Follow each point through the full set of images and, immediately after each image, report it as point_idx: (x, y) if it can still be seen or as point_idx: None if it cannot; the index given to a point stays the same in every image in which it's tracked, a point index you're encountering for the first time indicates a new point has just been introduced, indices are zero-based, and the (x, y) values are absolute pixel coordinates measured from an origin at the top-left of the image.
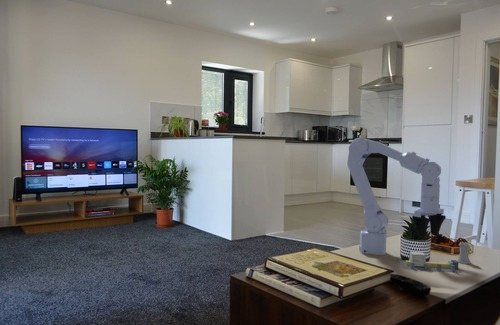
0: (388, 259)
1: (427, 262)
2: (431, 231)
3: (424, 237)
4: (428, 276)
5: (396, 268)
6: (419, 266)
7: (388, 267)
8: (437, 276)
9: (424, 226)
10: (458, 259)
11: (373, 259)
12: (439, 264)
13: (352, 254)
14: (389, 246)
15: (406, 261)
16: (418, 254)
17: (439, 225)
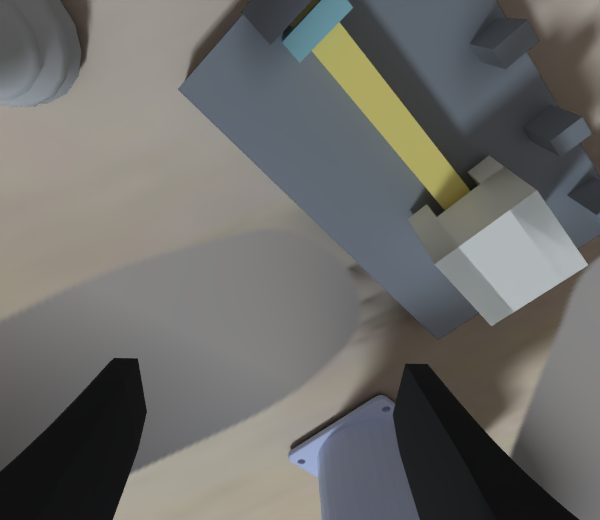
0: (390, 386)
1: (441, 175)
2: (133, 447)
3: (426, 368)
4: (592, 62)
5: None
6: None
7: (557, 309)
8: (543, 16)
9: (553, 506)
10: (40, 79)
11: None
12: (524, 41)
13: None
14: (130, 500)
15: None
16: (552, 240)
17: (57, 482)
